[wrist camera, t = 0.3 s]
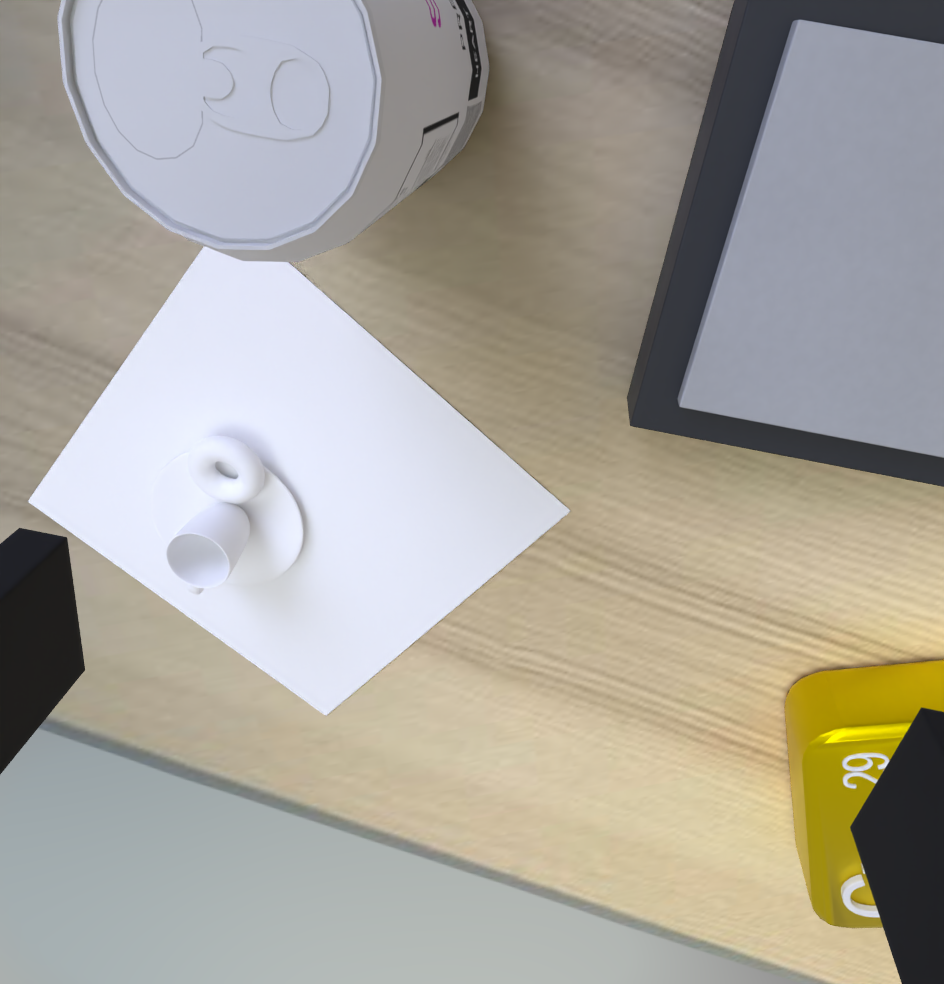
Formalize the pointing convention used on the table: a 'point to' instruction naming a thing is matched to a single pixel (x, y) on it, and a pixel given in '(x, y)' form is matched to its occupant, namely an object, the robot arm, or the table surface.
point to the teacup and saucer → (290, 481)
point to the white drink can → (272, 110)
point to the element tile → (847, 770)
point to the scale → (811, 244)
